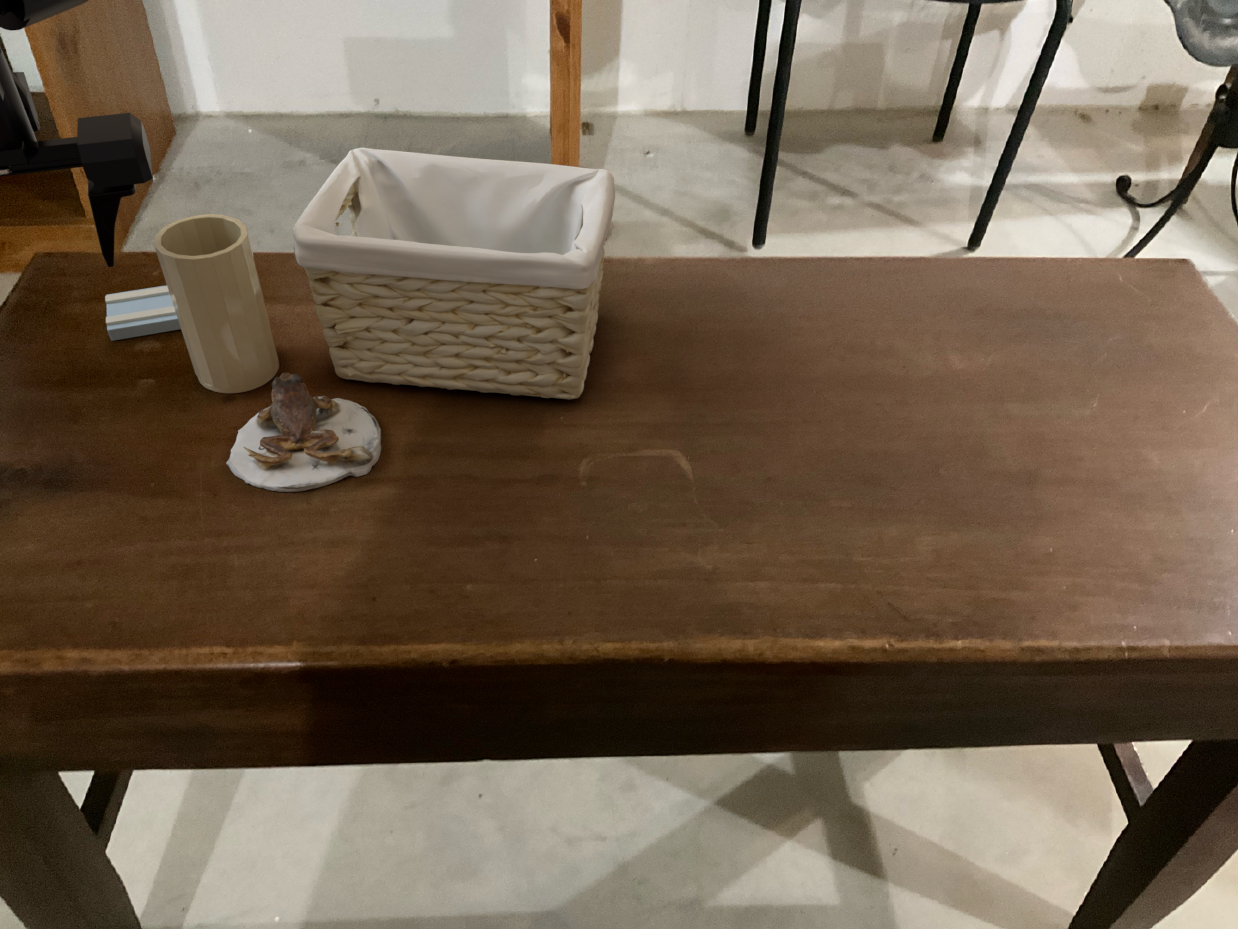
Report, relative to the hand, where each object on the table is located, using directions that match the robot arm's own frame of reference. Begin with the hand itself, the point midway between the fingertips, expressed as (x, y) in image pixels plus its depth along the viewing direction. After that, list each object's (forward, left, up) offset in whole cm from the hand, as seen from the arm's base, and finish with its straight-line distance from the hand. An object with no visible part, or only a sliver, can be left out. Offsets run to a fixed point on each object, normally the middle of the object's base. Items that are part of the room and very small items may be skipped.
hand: (42, 274), depth 69 cm
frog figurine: (+15, -9, -13) cm, 22 cm away
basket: (+31, -1, -13) cm, 34 cm away
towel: (+6, +13, -13) cm, 19 cm away
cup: (+11, +2, -13) cm, 17 cm away
